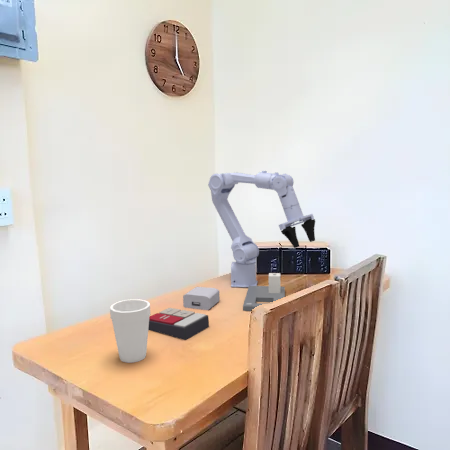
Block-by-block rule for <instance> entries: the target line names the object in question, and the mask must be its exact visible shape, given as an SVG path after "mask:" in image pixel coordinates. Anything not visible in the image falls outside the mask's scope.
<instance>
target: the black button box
mask: <svg viewBox="0 0 450 450" xmlns="http://www.w3.org/2000/svg"><path fill="white" fill-rule="evenodd" d="M209 320H210V319H209V315H208V314H206V313H201V312H200V313H199V312H195V311H192V310H191V311H190V310H186V309H179V308H173V307H167V308H165V309H163V310H161V311H159V312H157V313H154V314H152V315H150V316H149V328H148V331H150V332H155V333H159V334H162V335H166V336H172V337H173V338H176V339H178V340H182V341H186V340H189V339H190V338H192V337H195V335H196V336H197V334H200V333H201V332H203V331H205V330H206V329H208V328H210V323H209V322H210V321H209Z"/></svg>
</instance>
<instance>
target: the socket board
mask: <svg viewBox="0 0 450 450" xmlns="http://www.w3.org/2000/svg"><path fill="white" fill-rule="evenodd" d="M285 290H286V286H281V285H280V293H269V285H257V286H249V287H247V290H246V291H247V292H246V295H245V298H244V300H243V303H242V311H243V312H252V311H251V310H252V309H254V308H255V307H257V306H259V305H262V304H265V303H273V301H276V300H278V299H281V298H283V297H286V295H285V294H286V291H285Z"/></svg>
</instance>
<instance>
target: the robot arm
mask: <svg viewBox="0 0 450 450" xmlns="http://www.w3.org/2000/svg"><path fill="white" fill-rule="evenodd" d="M294 182H295V181H294V178H293V177H292V175H290V174H288V173H282V174H280V173H279V172H273V173H272V172H268V171H266V170H261V171H259V172H258V173H256V174H251V173H249V174H248V173H243V172H238V171H236V172H235V171H234V172H225V173H213V174H211V175H210V178H209V180H208V185H207V186H208V188H209V190H210V194H211V201H212V204H213V205H214V208H215V210H216V212H217V213H218V215H219V217H220V219H221V221H222V223H223V226H224V227H225V229H226V230H227V233H228V235H229V237H230V239H231V241H232V242H231V247H230V249H231V251H232V256H233V259H234V261H231V266H230V282H231V283H230V287H231V288H248V287H249V286H258V283H259V281H258V280H257V267H256V266H257V257H259V255H260V248H259V246H258V245H257V244H256V243H255V242H254V241H253V239H252V238H251V237H249V236H248V235H246V233H245V232H244V229H243V227H242V225H241V223H240V221H239V220H238V218H237V215H236V214H235V212H234V210H233V208H232V206H231V204H230V202H229V200H228V199H229V196H230V194H231V192H232V191H233V189H234V188H235V186H236V185H238V184H240V183H241V184H253V185H255V187H256V188H258V189H265V190H272V191H275V192H276V193H277V196H278V199H279V201H280V203H281V206H282V210H283V212H284V215H285V217H286V220H287V221H285V222H283V223H279V224H278V227H279V230H280V232H281V234H282V235H284V237H285V238H286V239H288V241H289V242H290V244H291V245H292V247H293V248H294V249H296V248H299V247H300V243H299V240H298V237H297V231H296V226H297V225H300V226H301V227H302V229H303V230H304V232H305V233H306V236H307V238H308V241H309V242H310V243H313V242H314V241H316V236H315V227H316V226H315V225H316V219H315V217H314V214H313V213H310V214H307V215H304V214H303V211H302V210H303V209H302V208H301V205H300V203H299V200H298V197H297V194H296V192H295V189H294Z"/></svg>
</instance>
